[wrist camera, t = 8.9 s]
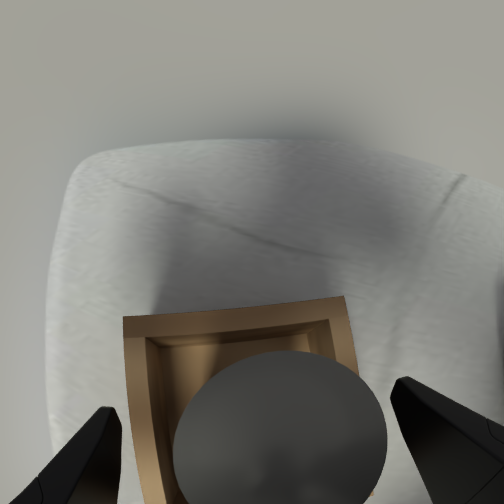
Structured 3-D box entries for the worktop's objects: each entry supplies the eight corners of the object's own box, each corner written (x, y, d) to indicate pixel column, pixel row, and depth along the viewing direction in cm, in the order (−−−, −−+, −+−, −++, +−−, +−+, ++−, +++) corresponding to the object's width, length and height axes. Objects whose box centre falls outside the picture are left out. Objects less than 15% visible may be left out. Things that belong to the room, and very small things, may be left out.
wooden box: (337, 474, 15) (373, 495, 11) (167, 497, 14) (151, 529, 9) (314, 318, 19) (343, 295, 15) (146, 334, 18) (122, 316, 13)
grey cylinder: (301, 432, 15) (413, 475, 5) (223, 468, 14) (235, 569, 4) (264, 360, 17) (334, 314, 7) (185, 394, 16) (136, 401, 6)
